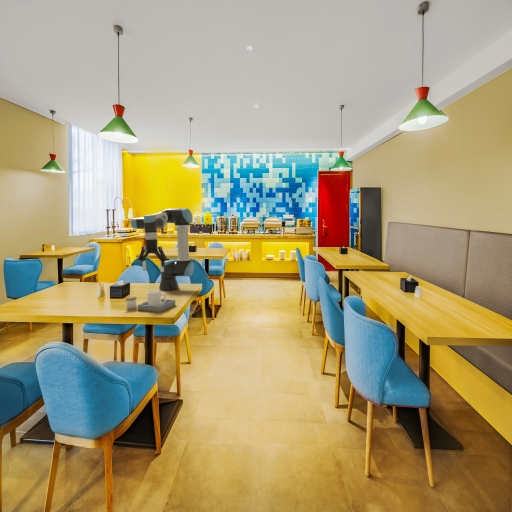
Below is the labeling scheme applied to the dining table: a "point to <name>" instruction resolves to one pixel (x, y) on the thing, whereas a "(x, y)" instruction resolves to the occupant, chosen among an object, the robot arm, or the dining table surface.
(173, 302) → the bus tub
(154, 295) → the cup
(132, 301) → the sugar pot
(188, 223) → the robot arm
